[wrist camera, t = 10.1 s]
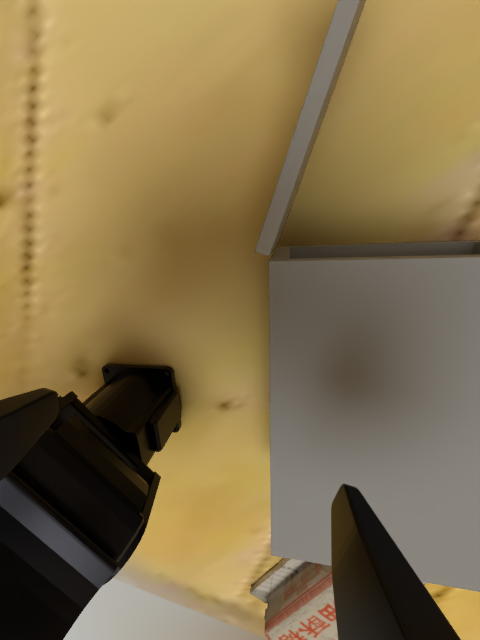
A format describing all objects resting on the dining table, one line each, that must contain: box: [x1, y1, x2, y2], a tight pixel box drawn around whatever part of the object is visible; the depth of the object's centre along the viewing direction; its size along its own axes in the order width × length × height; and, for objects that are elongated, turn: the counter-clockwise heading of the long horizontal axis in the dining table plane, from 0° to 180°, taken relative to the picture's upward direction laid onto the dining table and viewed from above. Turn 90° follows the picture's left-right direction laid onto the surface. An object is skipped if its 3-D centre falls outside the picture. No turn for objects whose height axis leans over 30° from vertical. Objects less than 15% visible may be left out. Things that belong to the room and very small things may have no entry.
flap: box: [255, 0, 366, 256], centre depth 10 cm, size 12×1×12 cm, turn 162°
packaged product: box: [250, 558, 427, 640], centre depth 26 cm, size 18×5×10 cm
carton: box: [269, 240, 480, 592], centre depth 16 cm, size 12×18×8 cm
